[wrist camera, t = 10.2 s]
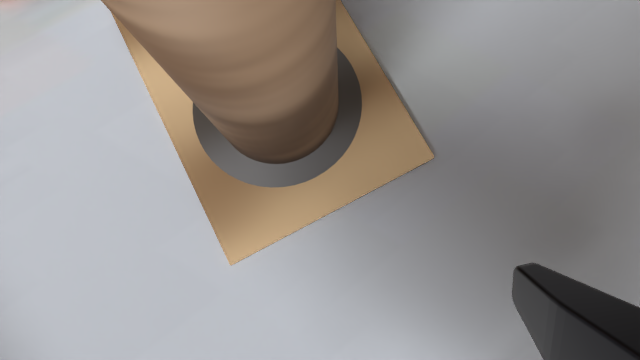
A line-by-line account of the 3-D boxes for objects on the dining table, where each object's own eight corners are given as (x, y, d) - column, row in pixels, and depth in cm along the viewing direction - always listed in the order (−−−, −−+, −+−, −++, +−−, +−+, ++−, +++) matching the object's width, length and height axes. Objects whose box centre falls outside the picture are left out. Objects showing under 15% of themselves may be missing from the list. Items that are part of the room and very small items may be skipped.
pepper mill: (360, 81, 18) (394, -292, 6) (299, 186, 18) (201, -1, 5) (256, 29, 19) (102, -399, 7) (194, 128, 18) (-104, -153, 6)
